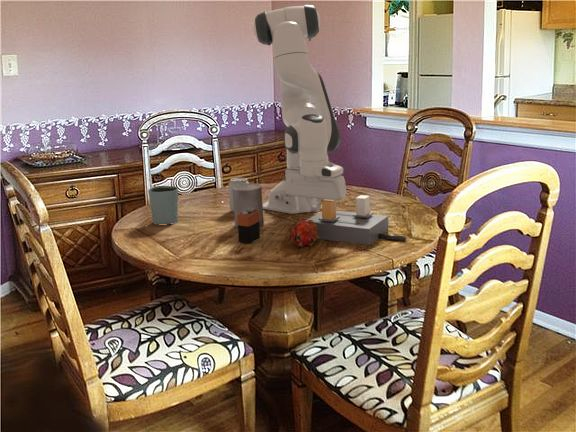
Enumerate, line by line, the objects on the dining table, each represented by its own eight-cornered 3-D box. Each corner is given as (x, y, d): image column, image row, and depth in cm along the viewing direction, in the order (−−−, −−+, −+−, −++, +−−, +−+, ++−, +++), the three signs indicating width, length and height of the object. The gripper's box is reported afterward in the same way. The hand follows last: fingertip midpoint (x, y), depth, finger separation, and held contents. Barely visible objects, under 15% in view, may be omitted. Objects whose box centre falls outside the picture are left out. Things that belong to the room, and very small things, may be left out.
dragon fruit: (315, 244, 199) (299, 261, 190) (294, 227, 200) (277, 243, 191) (329, 225, 195) (313, 242, 185) (307, 208, 196) (290, 224, 186)
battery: (260, 238, 202) (259, 207, 199) (249, 244, 196) (248, 212, 194) (249, 236, 204) (247, 206, 201) (237, 242, 198) (236, 211, 196)
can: (242, 214, 231) (240, 181, 228) (226, 212, 235) (224, 180, 232) (254, 209, 237) (252, 177, 234) (238, 207, 241) (236, 176, 238)
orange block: (318, 220, 200) (318, 201, 198) (325, 216, 204) (325, 197, 202) (333, 221, 197) (332, 202, 196) (339, 217, 201) (339, 199, 200)
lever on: (352, 216, 202) (352, 197, 201) (358, 212, 207) (358, 194, 205) (367, 218, 200) (367, 199, 199) (373, 214, 204) (373, 195, 203)
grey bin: (145, 222, 224) (142, 189, 221) (168, 216, 232) (166, 184, 228) (163, 227, 218) (160, 193, 215) (186, 221, 225) (183, 187, 222)
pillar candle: (250, 220, 223) (247, 178, 219) (269, 225, 216) (267, 181, 212) (229, 226, 216) (225, 183, 212) (248, 231, 210) (245, 187, 206)
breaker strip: (304, 236, 202) (303, 221, 201) (326, 223, 215) (325, 209, 214) (397, 248, 187) (397, 231, 186) (414, 233, 201) (414, 218, 199)
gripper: (280, 167, 201) (281, 210, 204) (338, 172, 190) (339, 217, 194) (290, 164, 206) (291, 205, 209) (348, 168, 196) (348, 212, 199)
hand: (315, 211), depth 202 cm, fingers closed
